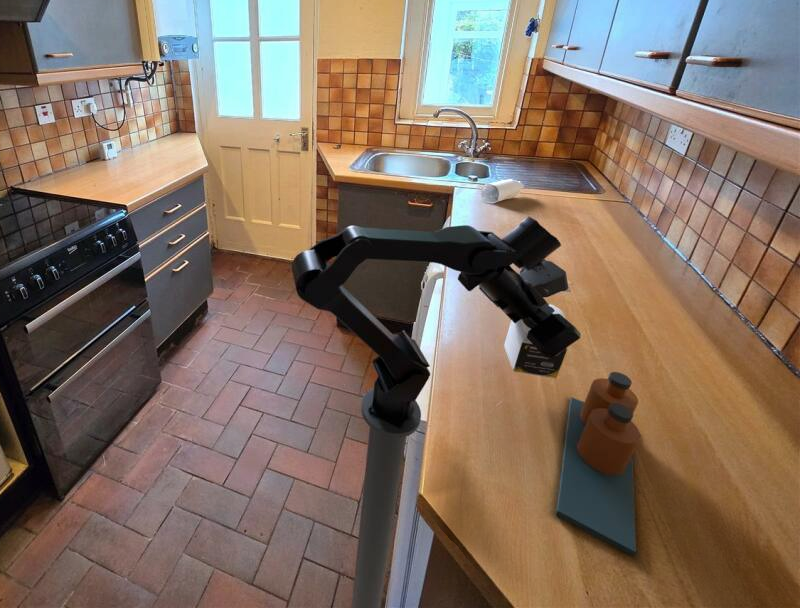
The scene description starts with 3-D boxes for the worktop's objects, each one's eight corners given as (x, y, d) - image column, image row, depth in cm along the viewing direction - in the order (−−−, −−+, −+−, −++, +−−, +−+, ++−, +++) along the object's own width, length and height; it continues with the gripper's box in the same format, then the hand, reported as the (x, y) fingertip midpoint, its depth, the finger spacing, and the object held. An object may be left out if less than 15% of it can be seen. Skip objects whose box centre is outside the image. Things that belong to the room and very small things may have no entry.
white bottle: (526, 198, 167) (531, 179, 164) (496, 206, 159) (500, 187, 156) (509, 192, 173) (513, 174, 170) (479, 199, 166) (482, 181, 162)
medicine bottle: (513, 372, 73) (529, 317, 68) (503, 346, 79) (518, 294, 74) (557, 379, 71) (577, 324, 66) (543, 352, 78) (561, 299, 73)
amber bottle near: (575, 460, 62) (595, 414, 58) (578, 432, 66) (596, 387, 62) (624, 483, 59) (649, 435, 55) (624, 452, 63) (646, 406, 59)
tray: (555, 514, 56) (557, 510, 56) (569, 400, 74) (571, 396, 73) (633, 556, 51) (636, 552, 51) (628, 424, 69) (630, 420, 68)
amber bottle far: (578, 426, 68) (596, 381, 63) (581, 402, 72) (598, 359, 68) (624, 445, 64) (646, 399, 60) (623, 419, 69) (644, 374, 65)
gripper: (588, 283, 56) (632, 340, 62) (508, 227, 73) (548, 276, 79) (522, 332, 59) (570, 383, 65) (459, 267, 76) (501, 312, 81)
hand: (546, 333), depth 72 cm, fingers closed on medicine bottle, 8 cm apart
